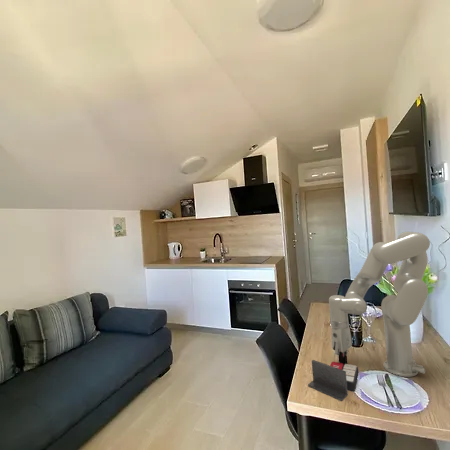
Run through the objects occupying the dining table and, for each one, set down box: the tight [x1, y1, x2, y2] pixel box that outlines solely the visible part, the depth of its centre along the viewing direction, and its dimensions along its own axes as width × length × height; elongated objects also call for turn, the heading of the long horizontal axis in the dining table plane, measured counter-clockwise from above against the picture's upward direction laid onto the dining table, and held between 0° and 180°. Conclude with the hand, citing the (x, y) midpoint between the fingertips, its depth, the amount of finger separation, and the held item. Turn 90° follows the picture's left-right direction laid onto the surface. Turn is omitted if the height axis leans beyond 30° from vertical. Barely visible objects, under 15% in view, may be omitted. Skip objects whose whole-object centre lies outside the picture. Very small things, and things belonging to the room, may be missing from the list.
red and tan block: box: [329, 361, 359, 393], centre depth 115 cm, size 11×4×15 cm
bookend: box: [307, 359, 349, 402], centre depth 108 cm, size 14×5×9 cm, turn 40°
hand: (343, 363), depth 124 cm, fingers closed
